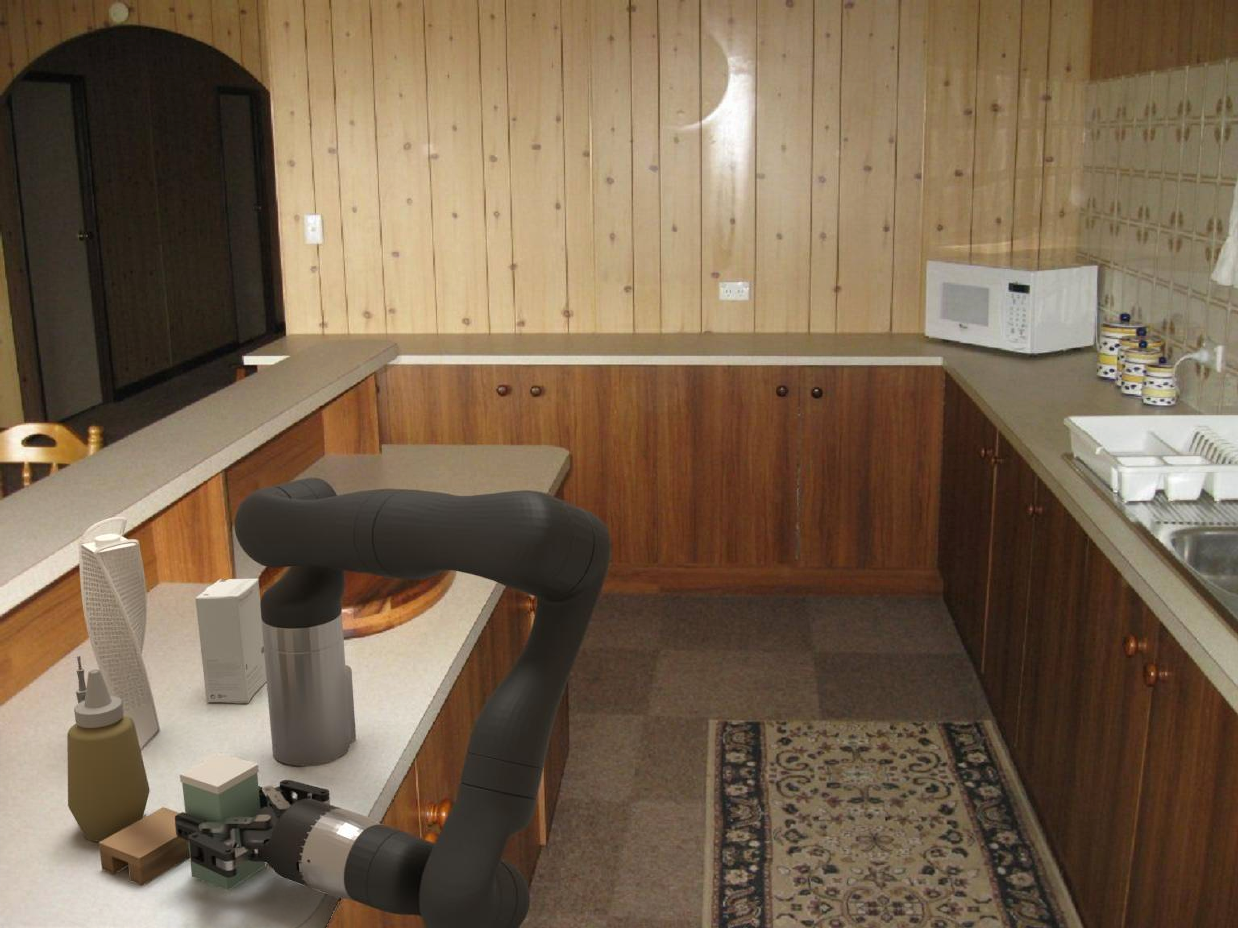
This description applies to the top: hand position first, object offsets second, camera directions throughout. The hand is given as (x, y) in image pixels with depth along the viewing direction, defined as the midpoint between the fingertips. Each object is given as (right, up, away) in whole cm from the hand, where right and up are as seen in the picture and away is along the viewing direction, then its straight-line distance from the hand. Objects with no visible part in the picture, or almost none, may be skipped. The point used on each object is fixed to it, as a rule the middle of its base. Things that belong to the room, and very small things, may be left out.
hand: (207, 806), depth 124 cm
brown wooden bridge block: (-6, -6, +3) cm, 9 cm away
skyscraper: (-20, 0, +29) cm, 35 cm away
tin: (+2, -7, 0) cm, 7 cm away
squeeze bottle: (-13, -5, +9) cm, 16 cm away
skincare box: (-10, +3, +43) cm, 45 cm away
